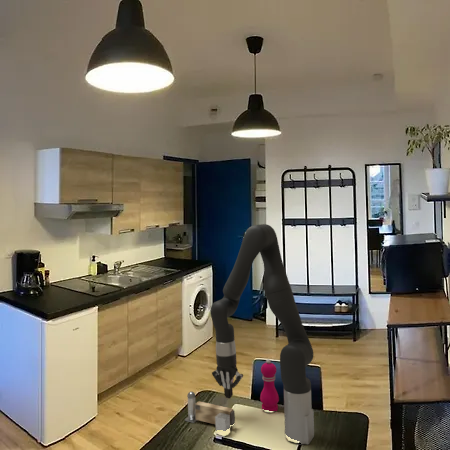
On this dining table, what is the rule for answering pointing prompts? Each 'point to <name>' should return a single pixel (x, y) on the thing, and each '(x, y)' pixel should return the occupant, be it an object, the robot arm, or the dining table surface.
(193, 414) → the hinge post
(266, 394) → the pepper mill
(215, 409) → the gate
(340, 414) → the dining table surface
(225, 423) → the grey block
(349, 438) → the dining table surface
